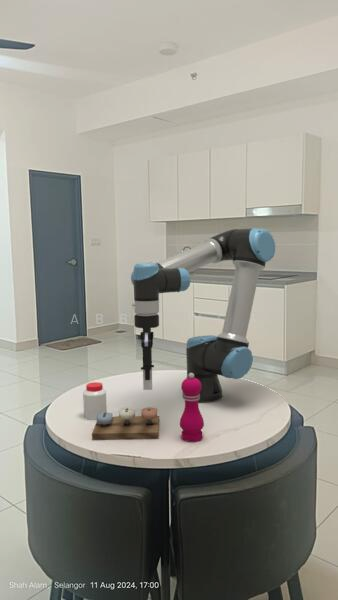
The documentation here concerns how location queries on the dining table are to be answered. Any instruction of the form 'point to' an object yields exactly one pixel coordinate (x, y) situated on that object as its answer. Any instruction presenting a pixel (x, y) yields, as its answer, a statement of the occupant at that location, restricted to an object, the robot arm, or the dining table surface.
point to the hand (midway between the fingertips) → (147, 389)
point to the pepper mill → (191, 410)
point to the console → (127, 429)
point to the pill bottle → (94, 400)
